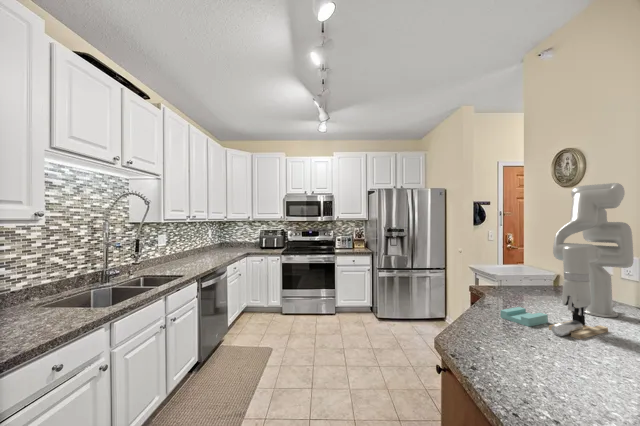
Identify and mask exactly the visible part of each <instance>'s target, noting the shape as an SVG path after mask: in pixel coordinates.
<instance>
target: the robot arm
mask: <svg viewBox="0 0 640 426" xmlns="http://www.w3.org/2000/svg"><path fill="white" fill-rule="evenodd" d="M570 194H571V197H572V202H571V211H570V220H569V222H567V223H565V224H564V225H563V226H562V227H560V228H559V229H558V231H557V232H556V234H555V235H554V240H553V246H552V255H553V257H554V258H555V259H556V260H558V261H561V262H562V264H563V267H562V268H563V284H562V305H563V306H564V307H565V306H567V310H568V311H570V313H571V314H572V320H573V321H574V320H576V321H579V322H580V323H581V324H582V325H586V316H585V315H586V314H587V315H590V316H596V317H601V318H617V317H619V313H618V312H617V311H614V308H616V307H617V306H616V303H614V302H613V288H612V287H613V285H612V276H611V273H609V272H608V271H607V270H606V269H605V268H606V267H607V268H619V269H627V268H631V267H632V266H633V265H634V243H633V232H632V228H631V226H630V224H628V222H627V223H626V222H622V221H608V217H607V215H608V213H607V210H608V209H611V210H612V209H616V208H618V207H620V205H621V203H622V202H623V200H624V198H625V194H626V193H625V188H624V186H623V184H622V183H618V182H611V183H609V182H608V183H602V184H601V183H600V184H599V183H598V184H587V185H586V184H585V185H580V186H579V185H578V186H576V187H574V188H572V190H571V192H570ZM606 209H607V210H606ZM580 232H582V237H583V239H584V240H585V241H587V242H588V243H577V242H576V243H574V242H573V243H571V242H565V241H566V240H567V239H568V238H569V237H570V236H572V235H575V234H578V233H580ZM589 242H591V243H600V244H601V243H604V244H607V243H609V244H616V245H602V244H601V245H600V244H599V245H598V244H597V245H596V244H591V243H589ZM604 267H605V268H604Z"/></svg>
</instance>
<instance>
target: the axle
mask: <svg viewBox="0 0 640 426" xmlns="http://www.w3.org/2000/svg"><path fill="white" fill-rule="evenodd" d="M568 321H569V322H567V321H564V322H565V323H562V322H560V323H561V324H558V323H556V324H557V325H553V324H552V325H553V326H552V330H551V332H552V333H553V335H554V336H556V337H565V336H567V335H568V334H571V332H575V331H579V330H583V325H582V324H581V323H580V322H579V321H576V320H574V321H571V320H568Z"/></svg>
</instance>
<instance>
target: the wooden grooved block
mask: <svg viewBox="0 0 640 426" xmlns="http://www.w3.org/2000/svg"><path fill="white" fill-rule="evenodd" d="M569 321H573V319H571V320H567V321H564V322H563V321H562V322H558V323H554V324H550V325H548V330H549V331H552V326H553V325H557V324H561V323H565V322H569ZM608 332H609V327H608V326H604V325H600V324H599V325H595V326H591V325H587V324H585V325H583V330H579V331H575V332H571V334H568V335H566V336H567V337H571V338H574V339H577V340H581V339H585V338H589V337H593V336H597V335H600V334H604V333H608Z"/></svg>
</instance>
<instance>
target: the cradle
mask: <svg viewBox="0 0 640 426" xmlns="http://www.w3.org/2000/svg"><path fill="white" fill-rule="evenodd" d="M499 312H500V318H501V319H504V320H507V321H510V322H513V323H516V324H520V325H522V326H526V327H528V328H529V327H533V326H539V325H542V324H548V323H549V318H548V317H549V314H546V313H543V312H537V313H530V312H527V310H526V308H524V307H521V306H515V307H511V308H510V307H509V308H505V309H500V311H499Z"/></svg>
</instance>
